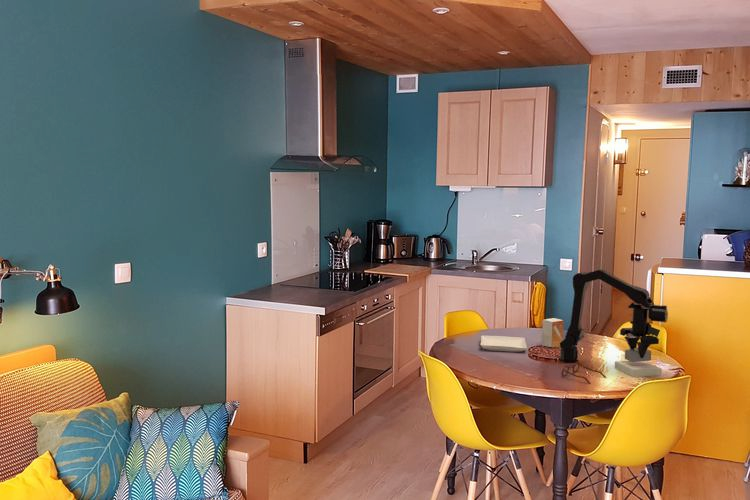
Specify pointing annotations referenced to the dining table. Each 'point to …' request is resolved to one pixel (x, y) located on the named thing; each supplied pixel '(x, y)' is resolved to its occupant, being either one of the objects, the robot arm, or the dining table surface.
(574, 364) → the glasses
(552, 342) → the small box
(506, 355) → the dining table surface
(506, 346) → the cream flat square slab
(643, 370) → the stand
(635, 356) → the block
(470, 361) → the dining table surface
